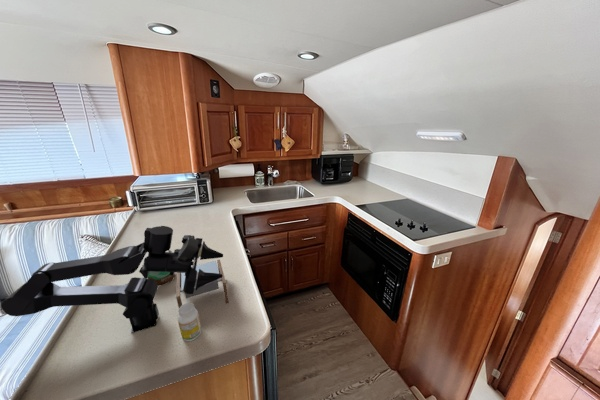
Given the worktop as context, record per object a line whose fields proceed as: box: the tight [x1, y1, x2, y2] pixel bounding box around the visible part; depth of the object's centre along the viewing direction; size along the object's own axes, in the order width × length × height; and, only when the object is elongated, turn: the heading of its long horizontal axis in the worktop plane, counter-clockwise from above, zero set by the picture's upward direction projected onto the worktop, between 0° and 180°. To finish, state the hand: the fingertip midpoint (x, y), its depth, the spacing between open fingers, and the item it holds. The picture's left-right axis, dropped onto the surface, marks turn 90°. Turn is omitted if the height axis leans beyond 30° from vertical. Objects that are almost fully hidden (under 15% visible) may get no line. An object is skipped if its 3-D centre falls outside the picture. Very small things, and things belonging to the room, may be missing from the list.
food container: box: [141, 249, 176, 287], centre depth 90 cm, size 12×6×10 cm, turn 160°
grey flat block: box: [180, 260, 222, 299], centre depth 80 cm, size 13×14×3 cm
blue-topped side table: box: [175, 259, 230, 309], centre depth 81 cm, size 15×15×8 cm
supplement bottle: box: [177, 302, 202, 342], centre depth 66 cm, size 5×5×10 cm
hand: (222, 265), depth 74 cm, fingers open, 9 cm apart
